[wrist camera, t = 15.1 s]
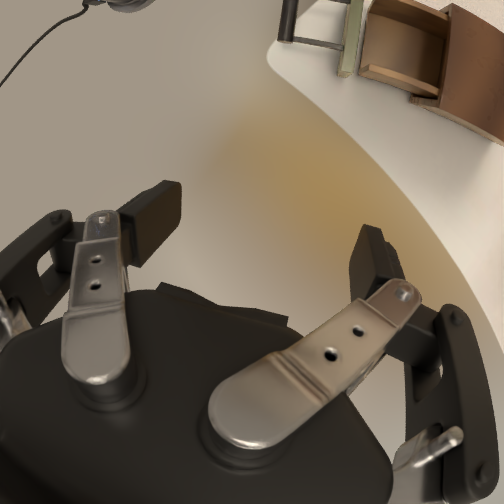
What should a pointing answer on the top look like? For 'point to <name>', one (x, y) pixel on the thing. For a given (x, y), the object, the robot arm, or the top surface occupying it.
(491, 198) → the top surface
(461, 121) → the cabinet
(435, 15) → the drawer
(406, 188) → the top surface
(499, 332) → the top surface
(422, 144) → the top surface
